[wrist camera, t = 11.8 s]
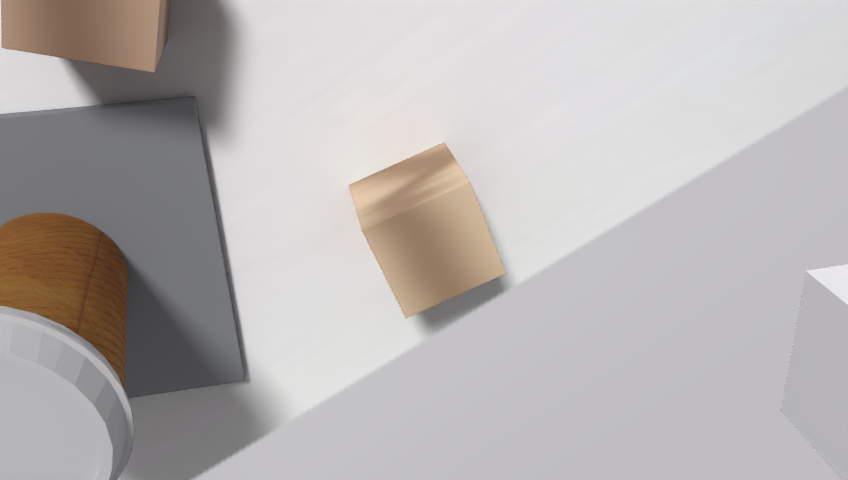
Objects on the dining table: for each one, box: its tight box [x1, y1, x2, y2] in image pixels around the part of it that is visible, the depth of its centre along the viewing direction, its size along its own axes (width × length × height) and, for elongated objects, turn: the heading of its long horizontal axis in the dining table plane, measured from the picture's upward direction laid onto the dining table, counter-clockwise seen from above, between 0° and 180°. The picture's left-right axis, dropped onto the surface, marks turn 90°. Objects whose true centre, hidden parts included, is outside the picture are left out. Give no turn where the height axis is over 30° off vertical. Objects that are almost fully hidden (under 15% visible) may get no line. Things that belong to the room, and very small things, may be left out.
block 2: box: [349, 143, 506, 318], centre depth 36 cm, size 5×5×5 cm
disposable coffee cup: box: [0, 213, 134, 480], centre depth 30 cm, size 10×10×12 cm
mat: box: [0, 97, 245, 398], centre depth 35 cm, size 15×15×1 cm
